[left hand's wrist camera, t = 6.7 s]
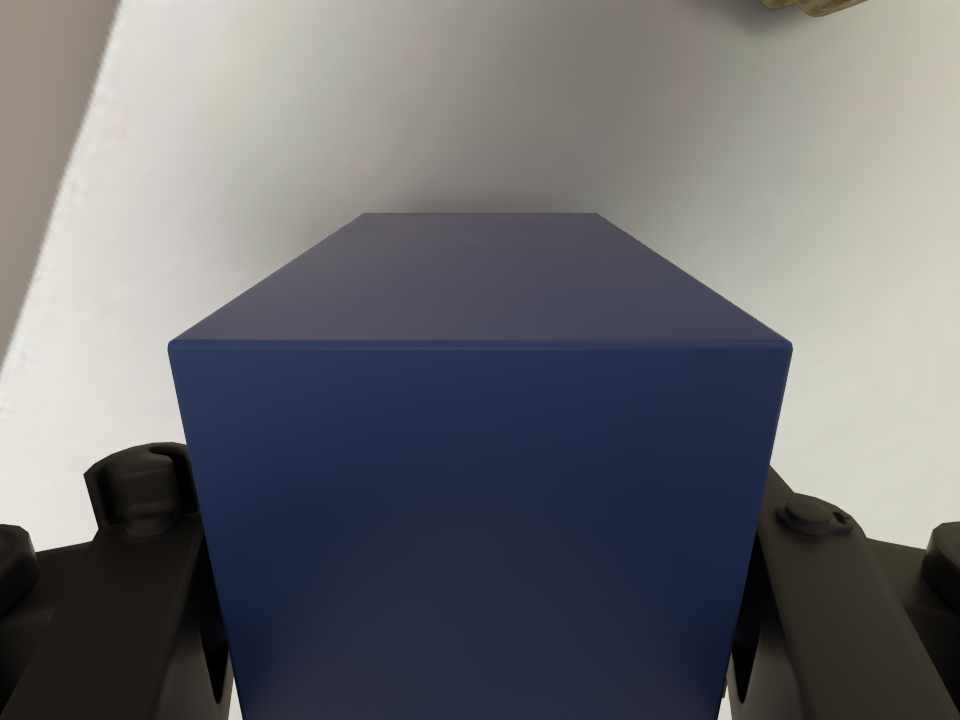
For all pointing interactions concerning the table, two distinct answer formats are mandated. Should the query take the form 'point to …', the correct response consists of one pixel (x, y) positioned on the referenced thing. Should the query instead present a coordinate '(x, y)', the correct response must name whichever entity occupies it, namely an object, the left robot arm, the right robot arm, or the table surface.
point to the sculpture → (814, 5)
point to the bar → (480, 473)
